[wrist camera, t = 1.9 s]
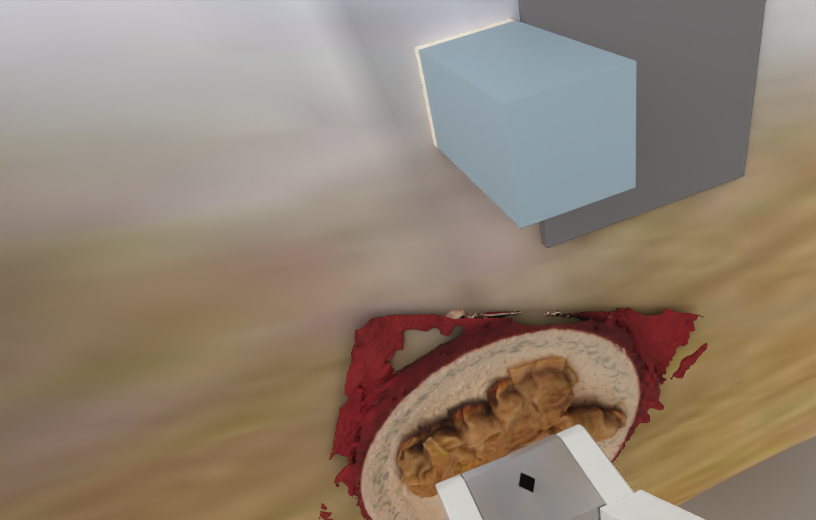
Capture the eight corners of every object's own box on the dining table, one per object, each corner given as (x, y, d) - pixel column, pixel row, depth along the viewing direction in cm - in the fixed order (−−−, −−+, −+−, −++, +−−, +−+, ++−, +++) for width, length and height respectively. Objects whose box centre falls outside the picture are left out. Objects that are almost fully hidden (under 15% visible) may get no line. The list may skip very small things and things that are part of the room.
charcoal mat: (542, 243, 36) (546, 248, 36) (498, -201, 24) (505, -203, 23) (736, 172, 38) (744, 175, 38) (788, -272, 26) (799, -276, 25)
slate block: (433, 143, 31) (520, 228, 22) (414, 47, 28) (505, 103, 20) (520, 115, 31) (635, 187, 23) (510, 18, 29) (636, 60, 20)
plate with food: (352, 302, 35) (364, 337, 32) (690, 304, 43) (724, 332, 41) (308, 554, 46) (314, 597, 43) (584, 517, 55) (605, 551, 52)
